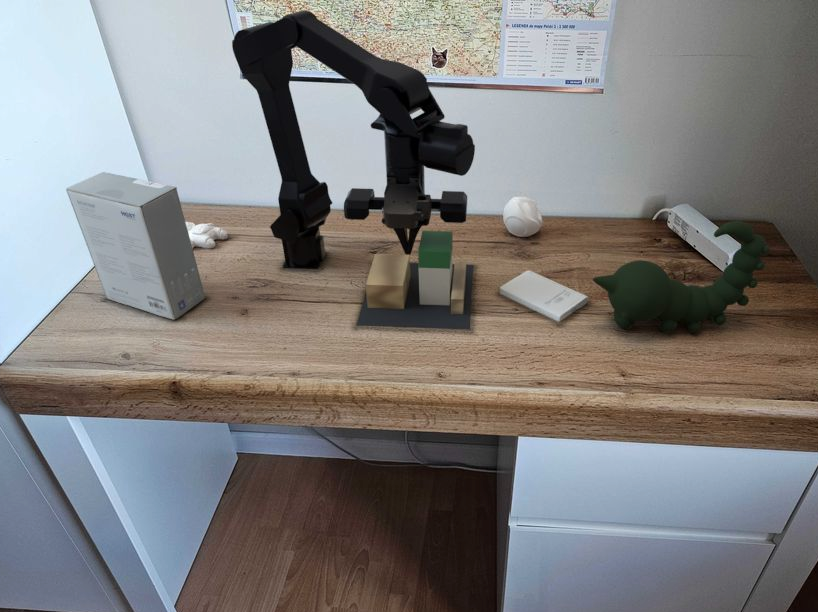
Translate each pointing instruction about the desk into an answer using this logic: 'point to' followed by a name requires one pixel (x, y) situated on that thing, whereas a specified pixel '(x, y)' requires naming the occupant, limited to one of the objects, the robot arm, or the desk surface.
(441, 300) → the block
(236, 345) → the desk surface
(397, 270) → the birch block
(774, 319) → the desk surface
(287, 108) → the robot arm
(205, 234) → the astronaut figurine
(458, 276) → the ash rail
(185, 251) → the hard drive box
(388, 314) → the desk mat
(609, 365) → the desk surface
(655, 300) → the toy figurine
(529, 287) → the hard drive
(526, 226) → the white ball
